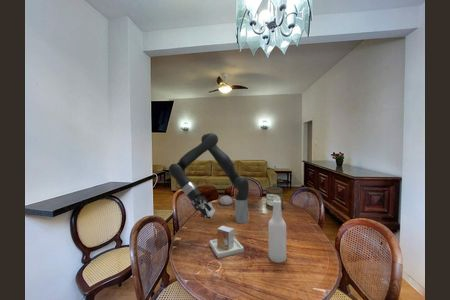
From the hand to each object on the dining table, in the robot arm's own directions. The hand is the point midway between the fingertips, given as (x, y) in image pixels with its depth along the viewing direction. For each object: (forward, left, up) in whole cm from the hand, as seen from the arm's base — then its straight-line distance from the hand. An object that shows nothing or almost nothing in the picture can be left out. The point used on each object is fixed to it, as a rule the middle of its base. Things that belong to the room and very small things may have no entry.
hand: (208, 212), depth 114 cm
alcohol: (-29, +27, -19) cm, 44 cm away
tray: (-8, +8, -19) cm, 22 cm away
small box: (-8, +8, -18) cm, 21 cm away
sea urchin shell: (-38, -68, -19) cm, 80 cm away
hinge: (-14, -47, -19) cm, 53 cm away
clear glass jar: (-74, -38, -19) cm, 85 cm away
